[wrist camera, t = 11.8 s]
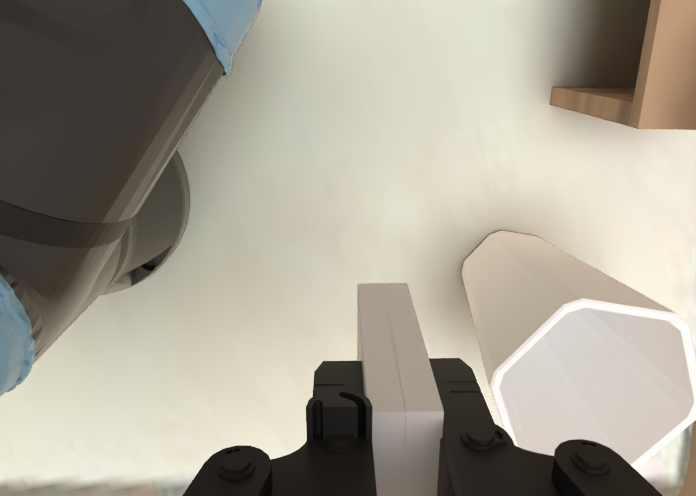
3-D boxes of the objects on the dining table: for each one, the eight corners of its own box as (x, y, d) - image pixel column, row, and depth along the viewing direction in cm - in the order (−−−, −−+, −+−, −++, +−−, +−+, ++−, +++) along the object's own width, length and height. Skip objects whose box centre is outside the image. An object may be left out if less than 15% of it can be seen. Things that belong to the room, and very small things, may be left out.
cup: (595, 223, 45) (740, 324, 28) (557, 340, 48) (667, 490, 32) (453, 199, 44) (519, 289, 28) (424, 320, 47) (468, 463, 31)
